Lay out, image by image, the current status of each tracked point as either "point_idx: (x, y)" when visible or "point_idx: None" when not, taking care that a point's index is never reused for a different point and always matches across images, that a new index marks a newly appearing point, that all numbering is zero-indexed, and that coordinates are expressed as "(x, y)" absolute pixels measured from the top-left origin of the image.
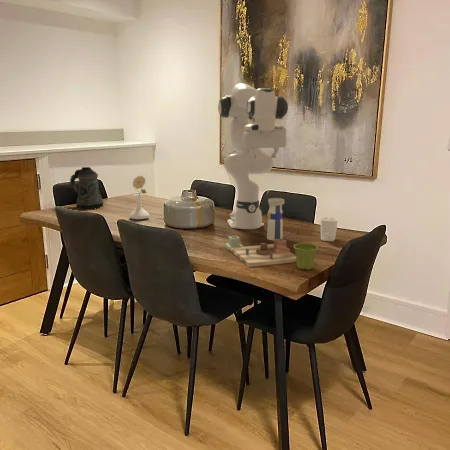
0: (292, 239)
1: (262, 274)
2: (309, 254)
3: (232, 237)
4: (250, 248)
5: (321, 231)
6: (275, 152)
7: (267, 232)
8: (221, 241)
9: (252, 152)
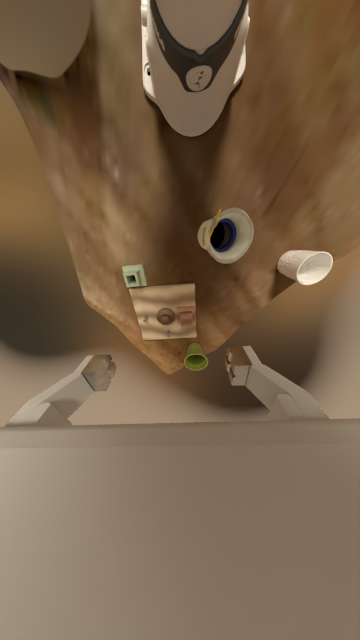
0: None
1: (152, 353)
2: (194, 365)
3: (129, 275)
4: (154, 297)
5: (285, 265)
6: (256, 395)
7: (199, 234)
8: (118, 234)
9: (69, 407)
